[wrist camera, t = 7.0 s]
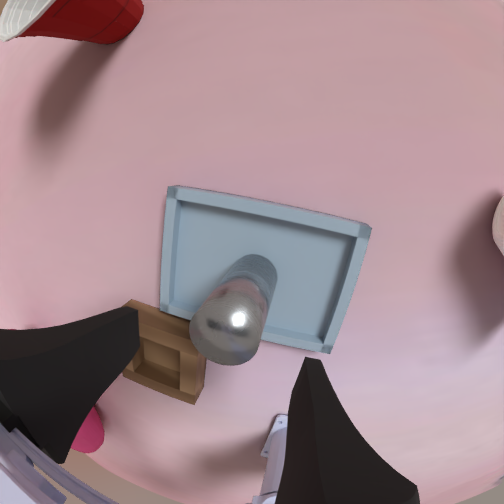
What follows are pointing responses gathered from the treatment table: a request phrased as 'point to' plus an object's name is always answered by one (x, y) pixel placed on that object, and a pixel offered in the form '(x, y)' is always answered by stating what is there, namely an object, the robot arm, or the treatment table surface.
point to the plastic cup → (71, 19)
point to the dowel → (235, 312)
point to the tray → (271, 247)
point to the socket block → (166, 355)
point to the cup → (499, 226)
